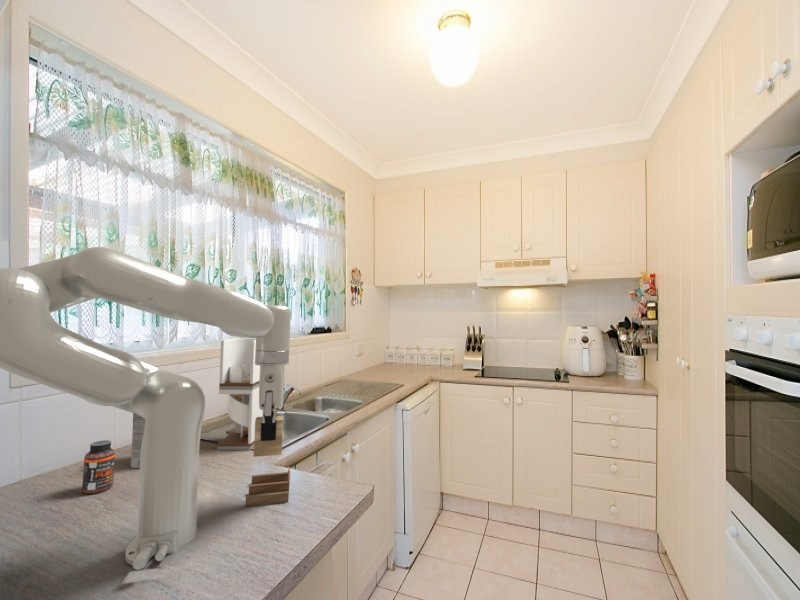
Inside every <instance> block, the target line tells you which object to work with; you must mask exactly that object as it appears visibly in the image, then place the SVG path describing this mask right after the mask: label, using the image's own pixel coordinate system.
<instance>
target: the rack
mask: <svg viewBox="0 0 800 600" xmlns="http://www.w3.org/2000/svg"><path fill="white" fill-rule="evenodd" d="M290 476H291V467H290V466H288V467H287V471H285V472H283V471H282V472H274V473H263V474H262V473H261V474H254V475H253V474H252V475H251V484H249V486H248V495H246V496H245V508H246V507H247V508H249V507H255V506H256V507H257V506H264V505H265V506H266V505H274V504H284V503H289V499H290V498H289V497H290V479H291V478H290Z"/></svg>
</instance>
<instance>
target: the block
mask: <svg viewBox="0 0 800 600" xmlns="http://www.w3.org/2000/svg"><path fill="white" fill-rule="evenodd" d="M275 422H276V439H275V440H272V441H261V423H262V417H257V418H256V420H255V436H254V447H253V457H254V458H257V457H269V456H282V452H283V437H284V435H283V434H284V415H277V416H275Z"/></svg>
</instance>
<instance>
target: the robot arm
mask: <svg viewBox="0 0 800 600" xmlns="http://www.w3.org/2000/svg"><path fill="white" fill-rule="evenodd" d="M97 298H99V299H102V300H106V301H108V302H111V303H112V302H113V303H116V304H119V305H123V306H126V307H130V308H132V309H135V310H139V311H142V312H147V313H149V314H152V315H156V316H159V317H163V318H166V319H170V320H176V321H183V322H192V323H199V324H204V325H208V326H212V327H217V328H219V329H220V330H221V332H223V333H224V334H226V335H228V336H232V337H236V338H237V337H238V338H249V339H256V350H255V365H259V366H260V379H259V409H261V410H262V409H263V416H262V423H261V441H272V440H275V439H276V422H275V416H278V415H277V413H278V412H277V411H278V409H279V410H281V409H282V408H283V407H284V395H285V393H284V392H285V390H284V389H285V366H286V365H289V363H290V343H291V342H290V340H291V339H290V337H291V316H292V314H291V313H292V311H291V309H290V308H289V307H288V306H286V305H278V304H277V305H276V304H273V305H271V304H269V305H268V304H265V303H263V302H261V301H259V300H256V299H253V298H251V297H249V296H246V295H243V294H240V293H238V292H235V291H233V290H230V289H228V288H223V287H219V286H216V285H212V284H209V283H207V282H203V281H201V280H198V279H194V278H191V277H187V276H184V275H181V274H179V273H177V272H174V271H170V270H169V269H166V268H162V267H159V266H158V265H156V264H155V265H154V264H152V263H150V262H147V261H144V260H142V259H139V258H137V257H135V256H132V255H129V254H127V253H124V252H121V251H119V250H115V249H112V248H110V247H109V248H108V247H105V246H104V247H103V246H92V247H87V248H85V249H83V250H81V251H78V252H77V253H75V254H71V255H66V256H64V257H61V258H57V259H52V260H49V261H44V262H40V263H37V264H31V265H28V266H23V267H18V268H15V267H14V268H13V267H12V268H11V267H2V268H0V369H2V370H4V371H5V372H9V373H11V374H13V375H16V376H18V377H21V378H24V379H27V380H29V381H33V382H36V383H39V384H41V385H44V386H45V387H48V388H51V389H55V390H57V391H61V392H64V393H66V394H69V395H72V396H74V397H77V398H80V399H83V400H84V401H86V402H88V403H90V404H93V405H96V406H97V405H98V406H102V407H114V408H116V409H120V410H123V411H126V412H129V413H132V414H133V413H134V414H137V415H140V416H142V417H143V418H144V419H145V430H144V435H143V439H142V445H141V454H140V468H139V482H138V483H139V485H138V503H137V504H138V505H137V506H138V507H137V509H138V511H137V526H136V527H137V529H136V533H137V534H136V537H135V538H134V539H133V540H132V541H131V542H130V543H129V544H128V545H127V547H126V550H125V557H124V558H125V561H126V563H127V564H129V565H130V566H131V567H133V569H134V570H136V571H140V570H142V569H144V568H145V567H146V566H147V564H148V562H149V560H150V559H151V558H152V557H154V559H155V560H156V561H157V562H161V561H162V560H163V559H165V557H166V555H171V554H175V553H176V552H177V550H178V549H180V548H183V547H184V546H186V545H187V544H188V543H190V542H191V541H192V540H193V539H194V537H196V535H197V530H198V529H197V527H198V526H197V525H198V524H197V523H198V503H199V502H198V501H199V500H198V498H199V478H200V476H199V474H200V473H199V472H200V447H201V445H200V444H201V432H202V425H203V421H204V417H205V411H206V410H205V409H206V397H205V394H204V391H203V389H202V387H201V386H200V385H199V384H198V383H197V382H196V381H194V380H193V379H191V378H190V377H189V378H188V377H186V376H183V375H180V374H176V373H173V372H170V371H167V370H164V369H162V368H160V367H157V366H155V365H152V364H151V363H148V362H145V361H143V360H141V359H138V358H137V357H135V356H134V355H132V354H130V353H128V352H126V351H123V350H120V349H116V348H111V347H108V346H106V345H103V344H101V343H98V342H96V341H93V340H91V339H89V338H87V337H85V336H83V335H81V334H78V333H77V332H74V331H72V330H70V329H68V328H65V327H64V326H62V325H60V324H59V323H58V322H57V321H56V320H55V319H54V318H53V316H52V315H51V313H54V312H57V311H61V310H64V309H67V308H70V307H74V306H77V305H80V304H82V303H85V302H87V301H92V300H94V299H97Z"/></svg>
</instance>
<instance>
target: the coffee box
mask: <svg viewBox="0 0 800 600" xmlns="http://www.w3.org/2000/svg"><path fill="white" fill-rule="evenodd" d="M132 415H133V416H132V435H131V436H132V438H131V440H132V441H131V455H130V457H131V458H130V459H131V461H130V462H131V463H130V469H140V454H141V445H142V439H143V435H144V430H145V419H144V418H143V417H142V416H140V415H137V414H134V413H132Z"/></svg>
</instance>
